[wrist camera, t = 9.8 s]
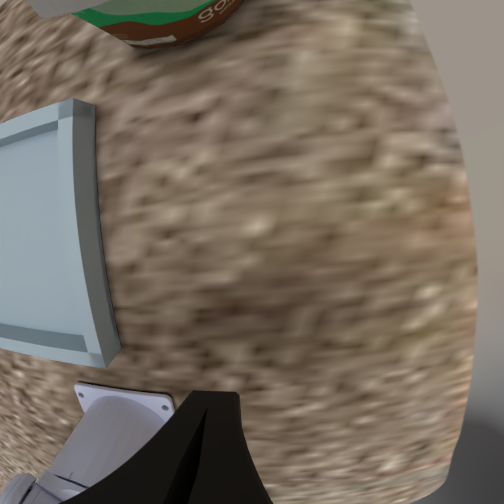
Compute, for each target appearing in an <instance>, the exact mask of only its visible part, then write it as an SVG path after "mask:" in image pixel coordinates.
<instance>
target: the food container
mask: <svg viewBox="0 0 504 504" xmlns="http://www.w3.org/2000/svg"><path fill="white" fill-rule="evenodd" d="M26 1H27V2H28V3H29V4H30V5H31V6H32V7H33V8H34V10H35V11H36V12H37V13H38V14H39V15H40V16H41V17H42V18H46V17H55V16H61V15H65V14H69V13H71V14H73V15H75V16H77V17H79V18H81V19H83V20H85V21H87V22H89V23H91V24H93V25H95V26H97V27H98V28H100V29H102V30H104V31H106V32H107V33H109V34H111V35H113V36H115V37H116V38H118V39H120V40H122V41H123V42H125V43H127V44H128V45H130V46H132V47H137V48H147V49H152V48H160V47H167V46H176V45H179V44H181V43H184V42H187V41H190V40H193V39H195V38H198V37H201V36H203V35H205V34H206V33H208V32H209V31H211V30H213V29H214V28H216V27H218V26H219V25H221V24H223V23H224V22H225V21H226V20H227V19H228V18H229V17H230V16H231V15H232V14H233V13H234V12H235V11H236V10H237V9H238V8H239V6H240V5H241V3H242V2H243V0H26Z"/></svg>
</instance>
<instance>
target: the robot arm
mask: <svg viewBox="0 0 504 504" xmlns="http://www.w3.org/2000/svg"><path fill="white" fill-rule="evenodd" d="M74 389H75V391H76V394H77V397H78V399H79V402H80V404H81V406H82V409H83V411H84V416H83V417H82V419H81V420H80V421H79V423H78V424H77V426H76V427H75V429H74V430H73V432H72V433H71V435H70V436H69V438H68V439H67V441H66V443H65V444H64V446H63V447H62V449H61V450H60V452H59V453H58V455H57V456H56V458H55V459H54V461H53V462H52V464H51V466H50V467H49V469H48V470H44V472H43V473H42V475H41V476H40V478H39V480H38V481H37V483H35V481H36V478H35V477H34V476H33V475H32V474H30V473H26V474H17V475H16V476H15V477H14V478H13V479H12V480H11V481H10V482H9V483H8V485H7V486H6V487H5V489H4V490H3V491H2V493H1V494H0V504H273V502H272V501H271V499H270V497H269V495H268V493H267V491H266V490H265V488H264V486H263V484H262V482H261V479H260V477H259V475H258V473H257V471H256V468H255V466H254V463H253V461H252V458H251V456H250V453H249V450H248V447H247V444H246V440H245V437H244V434H243V430H242V423H241V410H240V397H239V394H237V393H236V392H221V391H196V390H193V391H192V392H191V393H190V394H189V395H188V396H187V398H186V399H185V400H184V401H183V403H182V404H181V405H180V406H179V408H178V409H177V410H176V411H174V406H173V402H172V399H171V398H170V397H169V396H168V395H165V394H155V393H146V392H137V391H129V390H122V389H115V388H108V387H102V386H96V385H91V384H85V383H80V382H77V383H76V384H75V385H74ZM164 405H165V406H167V407H165V406H164Z"/></svg>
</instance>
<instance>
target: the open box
mask: <svg viewBox="0 0 504 504" xmlns="http://www.w3.org/2000/svg"><path fill="white" fill-rule="evenodd" d="M95 118H96V106H95V105H92V104H89V103H86V102H83V101H81V100H78V99H75V98H72V99H68V100H65V101H62V102H59V103H55V104H52V105H49V106H46V107H43V108H40V109H38V110H35V111H32V112H29V113H27V114H24V115H21V116H19V117H16V118H14V119H11V120H9V121H6V122H4V123H1V124H0V348H2V349H6V350H10V351H14V352H19V353H23V354H27V355H32V356H36V357H41V358H46V359H51V360H56V361H62V362H67V363H73V364H79V365H85V366H92V367H99V368H107V366H108V365H109V364H110V363H111V361H112V360H113V359H114V357H115V356H116V355H117V353H118V352H119V351H120V349H121V345H120V341H119V336H118V332H117V327H116V322H115V318H114V313H113V308H112V302H111V297H110V291H109V286H108V280H107V273H106V267H105V260H104V253H103V245H102V237H101V228H100V218H99V206H98V193H97V176H96V146H95Z"/></svg>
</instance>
